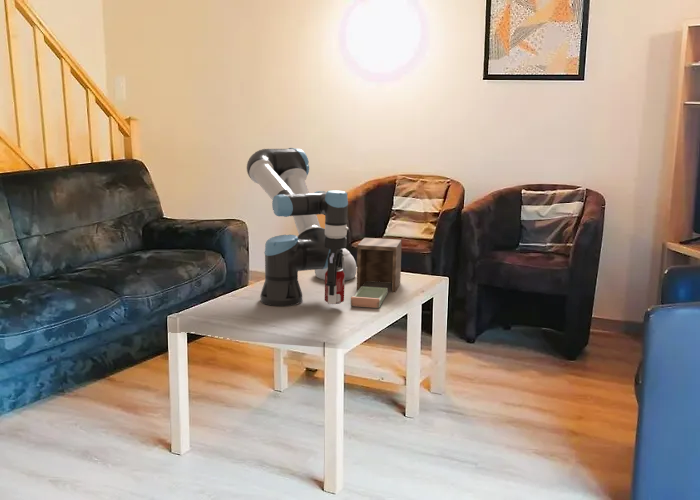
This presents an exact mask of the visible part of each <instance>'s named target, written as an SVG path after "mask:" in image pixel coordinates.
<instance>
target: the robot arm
mask: <svg viewBox="0 0 700 500" xmlns="http://www.w3.org/2000/svg"><path fill="white" fill-rule="evenodd" d="M246 163H247V164H246V172H247V175H248V177H249V178H250V179H251V180H252V182H254V183H255V184H258V185H259V186H260V187H261V188H262V190H263V191H264V192H265V194H267V196H268V197H270V199H271V200H272V202H271V203H272V211H273V214H274V215H275V216H276V217H284V218H287V217H292V218H293V221H294V224H295V227H296V231H297V234H298V235H295V234H281V235H276V236H275V235H274V236H272V237H270V238H269V239H267V240H266V241H265V245H264V252H263V253H264V273H265V274H264V282H263V284H262V285H263V286H262V288H261V292H260V294H259V295H260V297H259V298H260V300H259V301H260V302H261V304H264V305H268V306H275V307H288V306H295V305H299V304H301V303H303V292H302V288H301V286H300V282H299V278H298V275H299V274H298V273H299V272H304V271H315V270H316V269H326V268H328V271H327V284H326V286H328V303H327V305H337V304H336V275H337V268H338V267H340V268H342V254H343V249H344V248H345V249H347V246H348V245H347V244H348V243H347V242H348V241H347V233H348V231H349V227H348V206H349V201H348V199H349V198H348V192H347V191H344V190H339V189H337V190H336V189H334V190H333V189H332V190H328V191H324V190H317V191H314V192H311V193H310V192H309V189H308V185H307V183H306V180H307V177H308V175H309V172H310V164H309V157H308V156H307V154H306V152H305V151H304V150H303V149H301V148H294V147H288V148H263V149H259V150H257V151H255V152H254V153H253V154H252V155H251V156H250V157H249V159H248V160H247V162H246ZM317 215H324V216H325V217H324V228H323V226H322V227H321V224H320V221H319V218H318V216H317Z"/></svg>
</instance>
